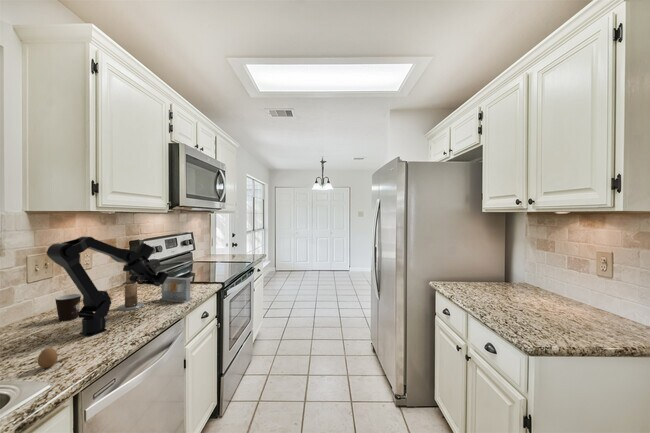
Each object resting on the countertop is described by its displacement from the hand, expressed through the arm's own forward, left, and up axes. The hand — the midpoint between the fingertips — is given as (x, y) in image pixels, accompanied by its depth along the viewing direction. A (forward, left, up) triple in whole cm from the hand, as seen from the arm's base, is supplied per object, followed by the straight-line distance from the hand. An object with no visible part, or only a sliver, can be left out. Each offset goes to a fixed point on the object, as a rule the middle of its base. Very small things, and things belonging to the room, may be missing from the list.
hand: (159, 285), depth 144 cm
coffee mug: (-26, +23, -11) cm, 36 cm away
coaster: (-6, +13, -11) cm, 17 cm away
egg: (-53, -20, -11) cm, 58 cm away
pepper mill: (-6, +12, -10) cm, 17 cm away
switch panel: (+11, +2, -11) cm, 16 cm away
